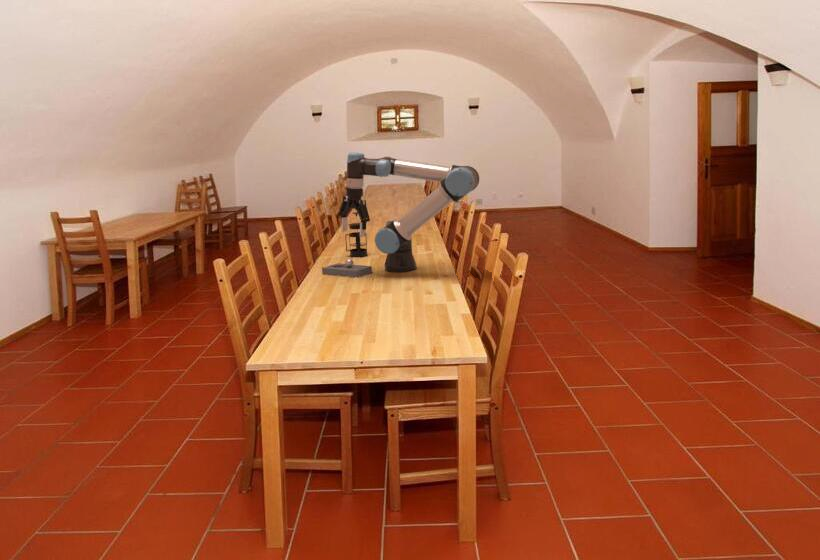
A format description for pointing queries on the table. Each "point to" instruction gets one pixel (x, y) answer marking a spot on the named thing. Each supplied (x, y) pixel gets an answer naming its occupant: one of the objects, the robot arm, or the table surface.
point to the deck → (347, 270)
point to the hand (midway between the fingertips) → (353, 233)
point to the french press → (358, 251)
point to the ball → (349, 262)
